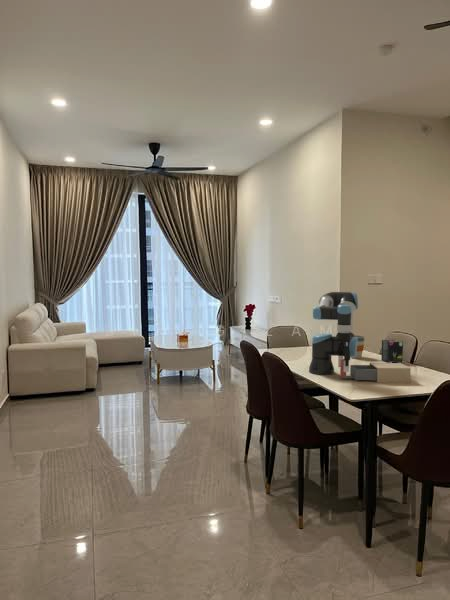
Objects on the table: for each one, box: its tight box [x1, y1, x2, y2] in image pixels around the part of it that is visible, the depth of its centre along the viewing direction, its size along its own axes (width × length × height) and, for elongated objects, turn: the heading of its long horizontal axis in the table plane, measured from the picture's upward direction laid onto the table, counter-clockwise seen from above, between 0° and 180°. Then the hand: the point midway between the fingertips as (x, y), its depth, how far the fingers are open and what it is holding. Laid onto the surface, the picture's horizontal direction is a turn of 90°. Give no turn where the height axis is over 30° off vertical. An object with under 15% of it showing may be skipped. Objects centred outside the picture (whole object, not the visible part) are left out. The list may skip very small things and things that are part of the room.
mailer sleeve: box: [369, 362, 412, 383], centre depth 252 cm, size 18×15×8 cm
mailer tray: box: [339, 360, 377, 381], centre depth 252 cm, size 24×12×10 cm, turn 88°
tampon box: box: [380, 339, 404, 363], centre depth 304 cm, size 11×9×15 cm
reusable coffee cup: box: [350, 335, 365, 359], centre depth 320 cm, size 12×13×15 cm
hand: (343, 369), depth 252 cm, fingers open, 12 cm apart
